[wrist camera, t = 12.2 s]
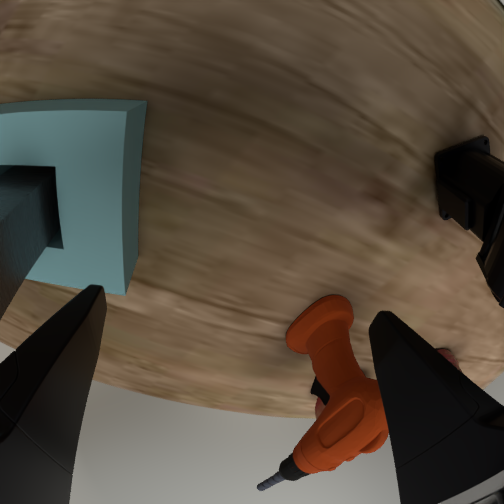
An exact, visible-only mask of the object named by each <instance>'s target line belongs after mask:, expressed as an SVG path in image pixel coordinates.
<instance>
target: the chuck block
mask: <svg viewBox="0 0 504 504" xmlns="http://www.w3.org/2000/svg"><path fill="white" fill-rule="evenodd" d="M146 108H147V101H141V100H122V99H56V100H37V101H25V102H14V103H5V104H0V175H1V174H3V173H4V172H5V171H7V170H8V169H10V168H11V167H13V166H14V165H32V166H55V167H56V185H57V198H58V208H59V218H60V226H61V228H60V229H59V231H58V232H57V233H56V235H55V236H54V237H53V239H52V240H51V241H50V243H49V244H48V245H47V247H46V248H45V250H44V251H43V252H42V254H41V255H40V257H39V258H38V260H37V261H36V263H35V264H34V266H33V267H32V269H31V270H30V272H29V273H28V275H27V276H26V278H25V279H30V280H35V281H40V282H46V283H51V284H57V285H62V286H68V287H74V288H80V289H85V288H86V287H87V286H88V285H90V284H96V285H102V286H103V287H104V290H105V293H111V294H118V295H126V292H127V289H128V286H129V283H130V280H131V277H132V274H133V271H134V268H135V265H136V262H137V259H138V213H139V188H140V171H141V157H142V145H143V134H144V125H145V116H146Z"/></svg>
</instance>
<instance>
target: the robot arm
mask: <svg viewBox="0 0 504 504" xmlns="http://www.w3.org/2000/svg"><path fill="white" fill-rule="evenodd" d="M484 141H485V142H484ZM440 158H441V160H440ZM435 166H436V174H437V191H438V202H439V206H440V216H441V218H442V219H443V220H448V219H450V218H453V219H454V220H455V221H456V222H457V223H458V224H460V225H461V226H462V227H463V228H464V229H465V230H469V229H470V230H471V231H472V232H473V233H474V234H475V235H476V236H477V237H478V238H479V239H480V240H481V241H482V242H483V245H482V247H481V250H480V252H479V253H478V255H477V257H476V260H477V262H478V264H479V266H480V268H481V270H482V272H483V275H484V277H485V279H486V282H487V285H488V287H489V288H490V290H491V292H492V294H493V295H494V297H495V299H496V300H497V301H498V302H499V305H500V306H501V307H503V308H504V162H503V161H501V160H500V159H498V158H496V157H495V156H493V155H491V154H490V145H489V139H488V137H486V136H484V135H483V136H480V137H477V138H475V139H472V140H469V141H467V142H464V143H461V144H459V145H456V146H454V147H451V148H448V149H446V150H443V151H441V152H438V153H437V154H436V155H435ZM445 214H446V215H445ZM106 311H107V304H106V297H105V290H104V287H103V286H102V285H96V284H90V285H88V286H87V287H86V288H85V289H84V290H82V291H81V292H80V293H79V294H78V295H76V296H75V297H74V298H73V299H72V300H70V301H69V302H68V303H67V304H66V305H65V306H63V307H62V308H61V309H60V310H59V311H58V312H56V313H55V314H54V315H53V316H52V317H51V318H50V319H48V320H47V321H46V322H45V323H44V324H43V325H42V326H41V327H39V328H38V329H37V330H36V331H35V332H34V333H33V334H32V335H31V336H29V337H28V338H27V339H26V340H25V341H24V342H23V343H22V344H21V345H20V346H19V347H18V348H17V349H16V351H13V352H12V353H11V354H10V355H9V356H8V357H7V358H6V359H5V360H4V361H3V362H1V363H0V504H69V500H70V492H71V483H72V476H73V475H72V474H73V469H74V463H75V456H76V451H77V445H78V440H79V434H80V430H81V425H82V420H83V415H84V411H85V407H86V402H87V397H88V394H89V390H90V386H91V382H92V378H93V374H94V371H95V367H96V363H97V359H98V355H99V350H100V344H101V338H102V333H103V327H104V322H105V317H106ZM369 338H370V344H371V350H372V356H373V363H374V369H375V373H376V377H377V381H378V386H379V390H380V394H381V398H382V403H383V407H384V411H385V416H386V421H387V425H388V430H389V435H390V440H391V446H392V451H393V456H394V462H395V468H396V474H397V481H398V488H399V495H400V502H401V504H438V503H441V504H504V406H503V405H501V404H500V403H499V402H497V401H496V400H495V399H493V398H492V397H491V396H490V395H488V394H487V393H486V392H485V391H483V390H482V389H481V388H480V387H478V386H477V385H476V384H475V383H473V382H472V381H471V380H470V379H469V378H468V377H467V376H465V375H464V374H463V373H462V372H461V371H460V370H459V369H458V370H457V368H456V367H455V366H454V365H453V364H452V363H451V362H450V361H448V360H447V359H446V358H445V357H444V356H443V355H442V354H440V353H439V352H438V351H437V350H436V349H435V348H434V347H432V346H431V345H430V344H429V343H428V342H427V341H425V340H424V339H423V338H422V337H421V336H420V335H418V334H417V333H416V332H415V331H414V330H412V329H411V328H410V327H409V326H408V325H407V324H405V323H404V322H403V321H402V320H401V319H399V318H398V317H397V316H396V315H395V314H393V313H392V312H391V311H380V312H378V314H377V315H376V317H375V318H374V320H373V322H372V323H371V325H370V327H369Z"/></svg>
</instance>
